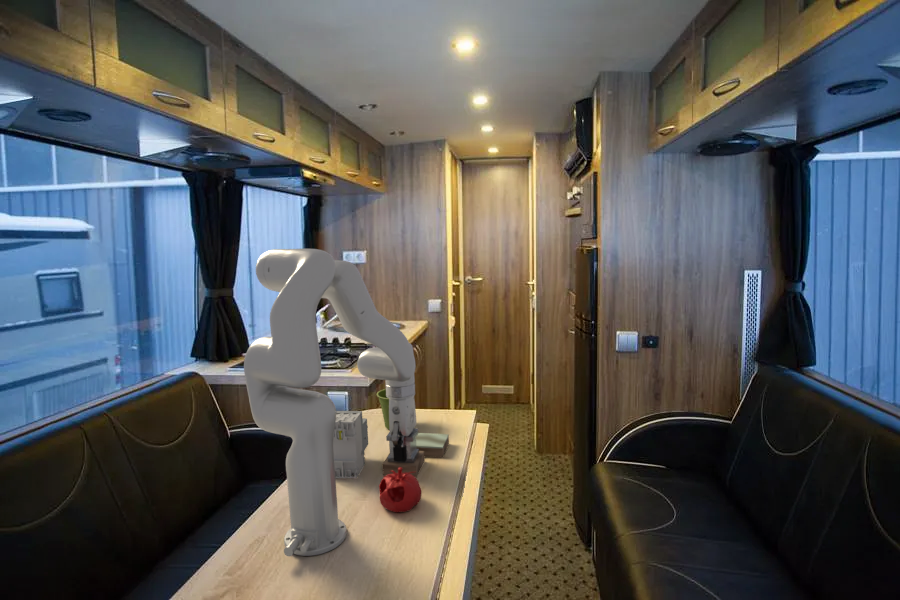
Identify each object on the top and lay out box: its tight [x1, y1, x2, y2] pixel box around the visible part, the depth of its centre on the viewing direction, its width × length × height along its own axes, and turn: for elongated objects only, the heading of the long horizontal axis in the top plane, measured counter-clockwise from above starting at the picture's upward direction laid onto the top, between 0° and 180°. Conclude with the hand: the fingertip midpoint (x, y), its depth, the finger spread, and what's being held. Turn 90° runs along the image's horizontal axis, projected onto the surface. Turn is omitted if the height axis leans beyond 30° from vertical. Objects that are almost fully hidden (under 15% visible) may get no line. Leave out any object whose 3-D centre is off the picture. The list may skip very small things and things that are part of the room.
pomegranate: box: [378, 467, 422, 513], centre depth 122 cm, size 10×10×9 cm
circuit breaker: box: [333, 410, 369, 479], centre depth 143 cm, size 8×14×15 cm, turn 174°
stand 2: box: [416, 432, 450, 458], centre depth 152 cm, size 9×9×3 cm
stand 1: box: [381, 451, 426, 478], centre depth 141 cm, size 9×9×3 cm
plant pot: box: [376, 388, 390, 431], centre depth 169 cm, size 12×12×11 cm
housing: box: [385, 427, 419, 463], centre depth 140 cm, size 6×7×7 cm
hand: (403, 454), depth 141 cm, fingers closed on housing, 6 cm apart
